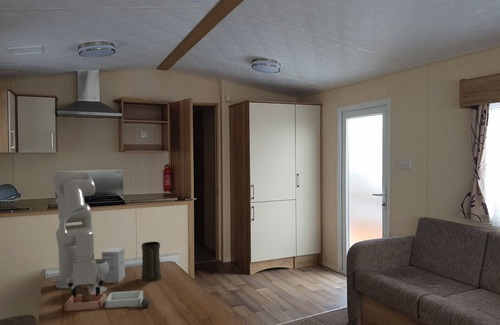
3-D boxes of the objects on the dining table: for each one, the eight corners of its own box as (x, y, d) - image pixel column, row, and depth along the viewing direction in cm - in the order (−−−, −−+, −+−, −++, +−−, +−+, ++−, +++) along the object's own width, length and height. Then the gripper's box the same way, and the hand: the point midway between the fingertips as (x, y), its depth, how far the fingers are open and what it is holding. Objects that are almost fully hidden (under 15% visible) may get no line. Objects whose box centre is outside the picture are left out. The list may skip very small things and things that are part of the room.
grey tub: (105, 309, 171) (104, 301, 171) (110, 299, 183) (110, 292, 182) (140, 306, 174) (140, 299, 174) (143, 297, 185) (143, 290, 185)
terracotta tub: (64, 312, 169) (64, 304, 169) (72, 302, 180) (72, 295, 180) (100, 309, 171) (100, 301, 171) (106, 300, 182) (106, 292, 182)
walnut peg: (81, 306, 174) (80, 288, 173) (83, 303, 177) (82, 286, 177) (89, 305, 174) (88, 288, 174) (91, 302, 178) (91, 285, 178)
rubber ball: (140, 308, 172) (140, 300, 171) (142, 305, 175) (141, 297, 175) (149, 307, 172) (149, 299, 172) (150, 304, 176) (149, 297, 176)
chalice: (99, 297, 186) (98, 266, 186) (73, 295, 189) (72, 265, 189) (114, 287, 200) (114, 258, 199) (90, 286, 203) (89, 257, 202)
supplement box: (109, 277, 217) (108, 247, 217) (125, 277, 217) (124, 247, 216) (102, 283, 207) (101, 251, 207) (119, 282, 207) (118, 251, 207)
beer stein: (139, 276, 216) (139, 242, 215) (159, 274, 221) (158, 239, 219) (144, 287, 203) (144, 249, 201) (164, 283, 207) (164, 247, 205)
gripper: (62, 261, 170) (63, 300, 170) (103, 259, 173) (104, 297, 173) (67, 257, 178) (69, 294, 178) (106, 255, 180) (108, 291, 180)
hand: (86, 296), depth 175 cm, fingers open, 9 cm apart
